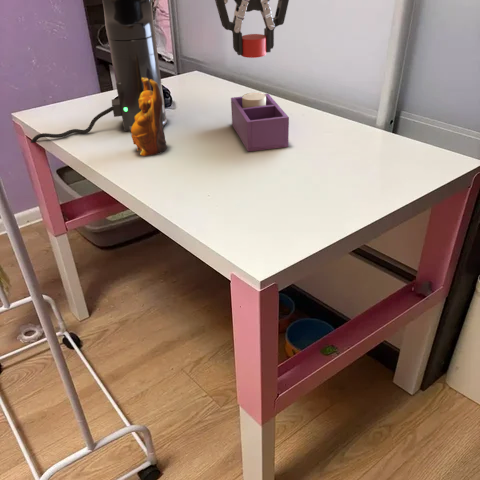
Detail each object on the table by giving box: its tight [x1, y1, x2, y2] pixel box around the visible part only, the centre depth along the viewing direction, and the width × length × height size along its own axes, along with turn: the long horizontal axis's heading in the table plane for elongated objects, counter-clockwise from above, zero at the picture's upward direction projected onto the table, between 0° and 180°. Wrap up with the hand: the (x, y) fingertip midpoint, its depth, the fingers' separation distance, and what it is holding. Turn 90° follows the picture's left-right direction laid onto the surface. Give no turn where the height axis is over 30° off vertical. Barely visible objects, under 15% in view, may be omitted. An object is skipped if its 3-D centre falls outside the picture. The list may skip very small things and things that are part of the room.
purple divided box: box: [230, 93, 290, 153], centre depth 102 cm, size 8×15×6 cm, turn 12°
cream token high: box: [241, 92, 266, 108], centre depth 103 cm, size 5×5×3 cm
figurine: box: [130, 78, 168, 157], centre depth 95 cm, size 6×7×13 cm
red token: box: [240, 33, 267, 59], centre depth 95 cm, size 5×5×3 cm
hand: (253, 52), depth 96 cm, fingers closed on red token, 4 cm apart
